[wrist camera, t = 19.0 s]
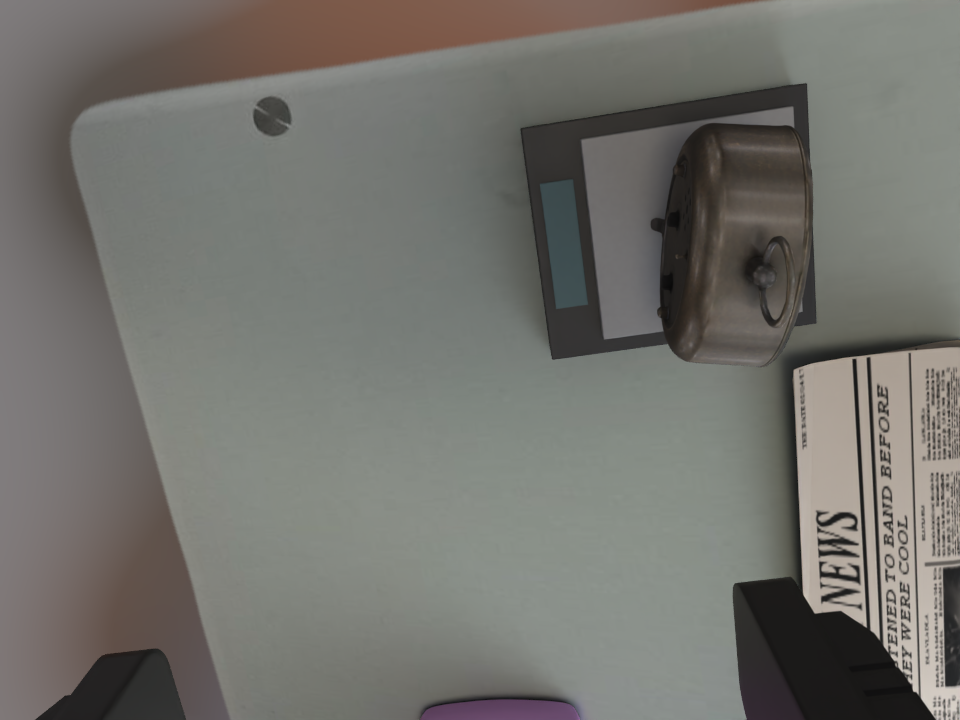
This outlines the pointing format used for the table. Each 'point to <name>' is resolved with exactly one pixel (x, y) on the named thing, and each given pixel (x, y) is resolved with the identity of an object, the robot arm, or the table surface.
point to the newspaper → (886, 505)
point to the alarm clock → (735, 243)
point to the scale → (625, 213)
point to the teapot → (502, 710)
